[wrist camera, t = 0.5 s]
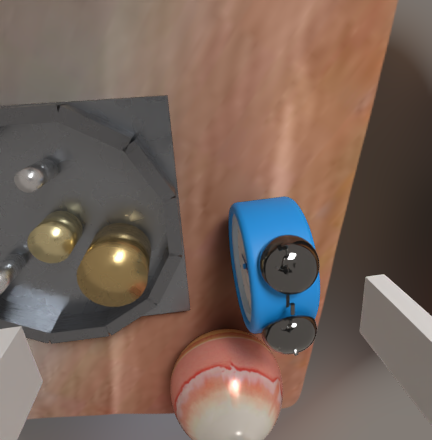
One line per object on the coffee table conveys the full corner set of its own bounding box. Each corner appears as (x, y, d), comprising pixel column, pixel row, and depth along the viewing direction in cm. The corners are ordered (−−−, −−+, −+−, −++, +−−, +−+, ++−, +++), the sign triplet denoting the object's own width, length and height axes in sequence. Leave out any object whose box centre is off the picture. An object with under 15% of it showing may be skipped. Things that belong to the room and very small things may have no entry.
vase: (171, 390, 47) (171, 547, 31) (169, 312, 42) (167, 451, 26) (264, 382, 49) (309, 528, 33) (271, 306, 44) (330, 433, 28)
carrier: (-103, 112, 31) (-183, 119, 24) (167, 95, 33) (166, 97, 26) (-16, 328, 40) (-55, 378, 33) (189, 302, 42) (193, 344, 35)
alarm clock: (224, 187, 37) (254, 245, 23) (277, 180, 38) (338, 234, 24) (232, 285, 42) (261, 381, 28) (278, 278, 43) (330, 369, 29)
